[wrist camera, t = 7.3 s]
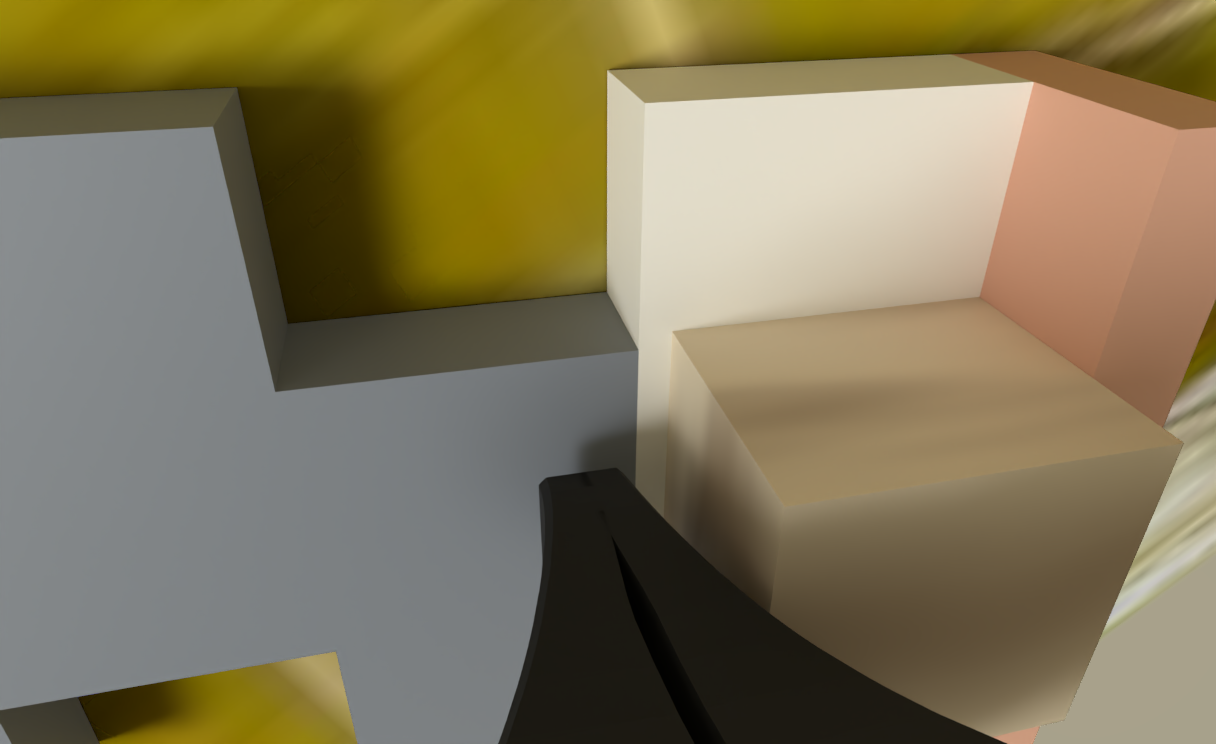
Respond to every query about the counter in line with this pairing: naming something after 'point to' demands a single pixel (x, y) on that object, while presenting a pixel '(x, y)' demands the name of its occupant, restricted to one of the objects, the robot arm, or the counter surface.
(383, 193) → the counter surface
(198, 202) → the plate
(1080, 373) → the maple block
